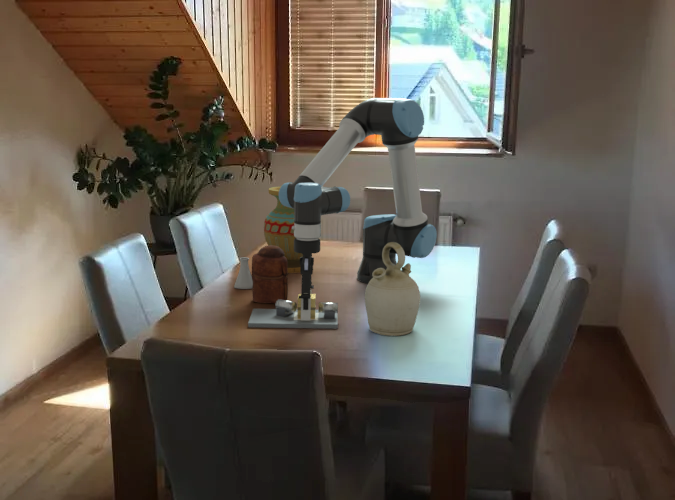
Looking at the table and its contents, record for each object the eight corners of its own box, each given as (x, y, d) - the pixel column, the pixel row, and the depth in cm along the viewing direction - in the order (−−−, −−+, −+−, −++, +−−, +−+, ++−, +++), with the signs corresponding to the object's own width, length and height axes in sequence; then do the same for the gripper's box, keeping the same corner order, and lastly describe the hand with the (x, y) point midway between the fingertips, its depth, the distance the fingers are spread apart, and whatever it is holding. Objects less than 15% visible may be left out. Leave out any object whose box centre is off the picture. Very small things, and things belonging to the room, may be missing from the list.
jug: (379, 341, 193) (382, 249, 187) (354, 324, 206) (356, 238, 201) (429, 334, 199) (433, 245, 193) (402, 318, 212) (405, 235, 207)
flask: (251, 290, 240) (251, 261, 238) (230, 289, 241) (230, 259, 239) (258, 285, 247) (258, 256, 245) (237, 283, 248) (237, 255, 246)
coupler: (298, 313, 211) (298, 293, 210) (315, 313, 211) (315, 293, 210) (297, 318, 206) (297, 298, 205) (315, 319, 206) (315, 298, 205)
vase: (308, 261, 283) (309, 185, 277) (323, 273, 264) (325, 191, 258) (258, 264, 277) (258, 186, 270) (270, 276, 258) (270, 193, 252)
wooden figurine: (290, 299, 230) (290, 244, 226) (286, 305, 224) (287, 248, 220) (253, 297, 231) (253, 242, 227) (249, 303, 225) (248, 246, 221)
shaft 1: (298, 314, 211) (298, 300, 210) (290, 318, 207) (290, 304, 206) (282, 311, 213) (282, 297, 212) (274, 315, 210) (274, 301, 209)
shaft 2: (318, 318, 207) (318, 304, 206) (318, 314, 211) (318, 300, 210) (337, 319, 207) (337, 305, 206) (337, 314, 211) (337, 300, 210)
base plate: (337, 313, 216) (337, 309, 216) (337, 328, 202) (337, 324, 202) (253, 312, 216) (253, 308, 215) (248, 327, 202) (248, 322, 202)
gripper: (295, 231, 214) (294, 304, 219) (291, 245, 194) (291, 326, 198) (321, 231, 214) (319, 305, 219) (319, 245, 194) (318, 326, 198)
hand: (306, 315), depth 209 cm, fingers open, 8 cm apart
